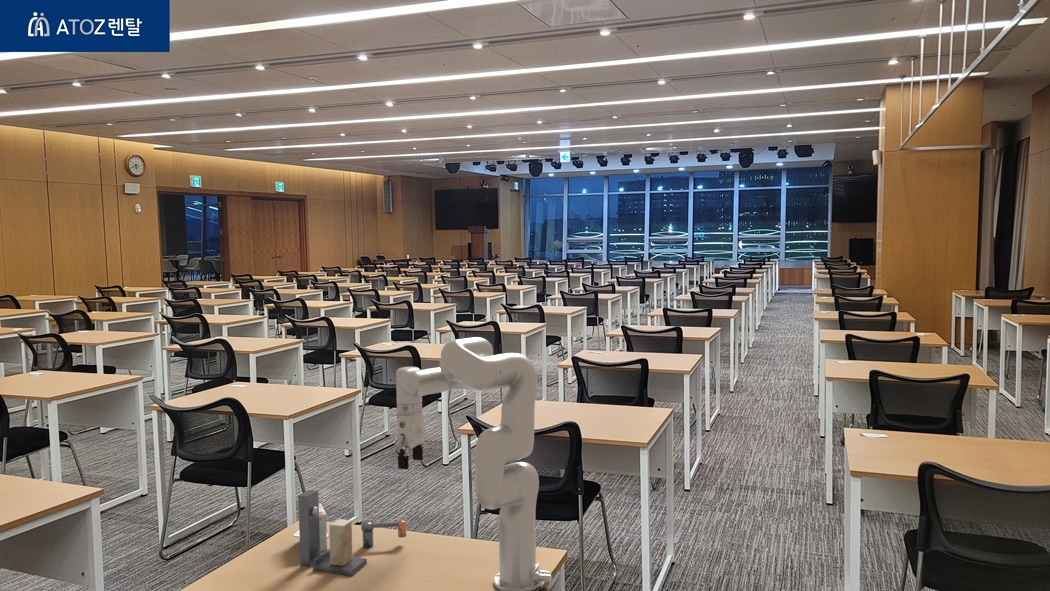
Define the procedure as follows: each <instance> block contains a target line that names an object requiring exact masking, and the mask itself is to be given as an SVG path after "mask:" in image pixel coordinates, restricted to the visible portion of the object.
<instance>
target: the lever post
mask: <svg viewBox="0 0 1050 591" xmlns="http://www.w3.org/2000/svg"><path fill="white" fill-rule="evenodd" d="M361 532H362V548H364V549H371V548H373V547H374V529H373V530H370V531H363V530H361Z"/></svg>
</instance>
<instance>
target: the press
mask: <svg viewBox="0 0 1050 591" xmlns="http://www.w3.org/2000/svg"><path fill="white" fill-rule="evenodd" d="M297 496H298V497H297V501H298V502H297V503H298V525H299V528H298V529H299V554H300V555H299V556H300V560H299V561H300V567H303V568H312V572H318V573H319V572H320V573H326V574H332V575H333V574H334V575H338V576H346V577H353V576H354V575H356V573H358V572H359V571H360V570H362V569H363V568H364V567H365V566H367V565H368V560H367V558H364V557H355V556H352V560H350V561H349V562H348V563H347V564H345V565H344V566H341V565H332V564H330V548H327V550H324V552H322V553H321V551H320V534H319V504H320V503H319V490H315V489H308V490H306V491H304V492H302V493H300V494H298V495H297Z"/></svg>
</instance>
